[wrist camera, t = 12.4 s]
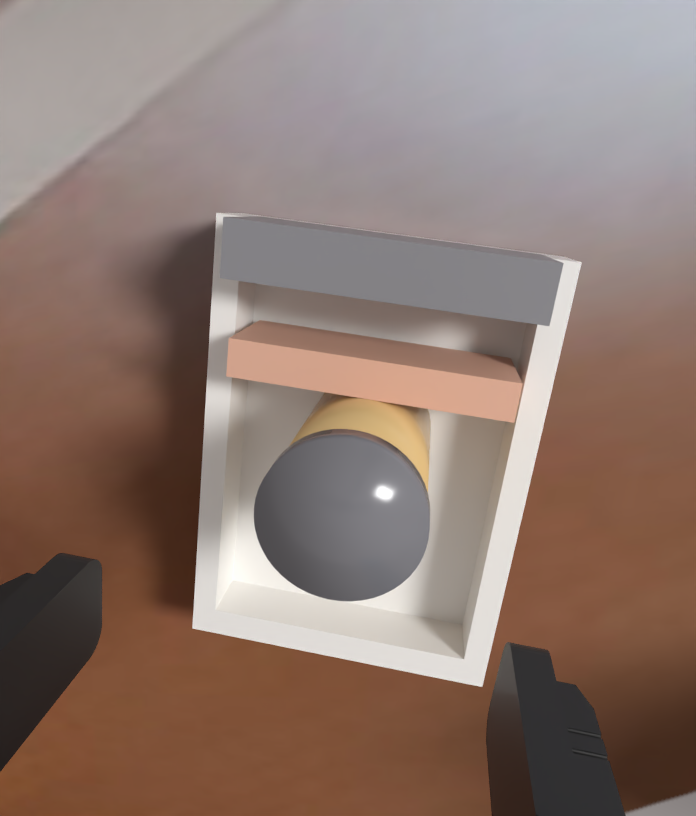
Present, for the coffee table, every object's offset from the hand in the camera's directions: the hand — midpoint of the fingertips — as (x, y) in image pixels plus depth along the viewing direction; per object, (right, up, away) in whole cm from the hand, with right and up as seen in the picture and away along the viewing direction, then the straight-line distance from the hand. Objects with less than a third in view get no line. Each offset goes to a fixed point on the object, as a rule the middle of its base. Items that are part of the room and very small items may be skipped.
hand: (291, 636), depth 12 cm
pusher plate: (+2, +7, +13) cm, 15 cm away
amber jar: (+2, +4, +15) cm, 15 cm away
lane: (+2, +3, +16) cm, 16 cm away
